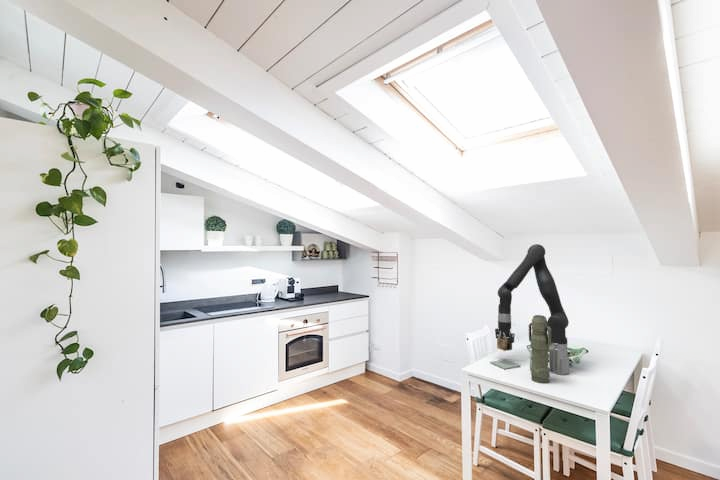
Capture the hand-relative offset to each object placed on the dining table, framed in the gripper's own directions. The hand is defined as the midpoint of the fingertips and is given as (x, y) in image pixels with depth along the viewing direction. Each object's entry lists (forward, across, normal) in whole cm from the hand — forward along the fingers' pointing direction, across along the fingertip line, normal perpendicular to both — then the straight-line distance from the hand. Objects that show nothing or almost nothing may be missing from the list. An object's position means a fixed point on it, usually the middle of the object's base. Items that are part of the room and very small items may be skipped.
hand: (504, 347), depth 211 cm
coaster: (+10, 0, 0) cm, 10 cm away
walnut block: (+1, 0, 0) cm, 1 cm away
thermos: (+11, -26, 0) cm, 28 cm away
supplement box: (+11, -15, -11) cm, 21 cm away
